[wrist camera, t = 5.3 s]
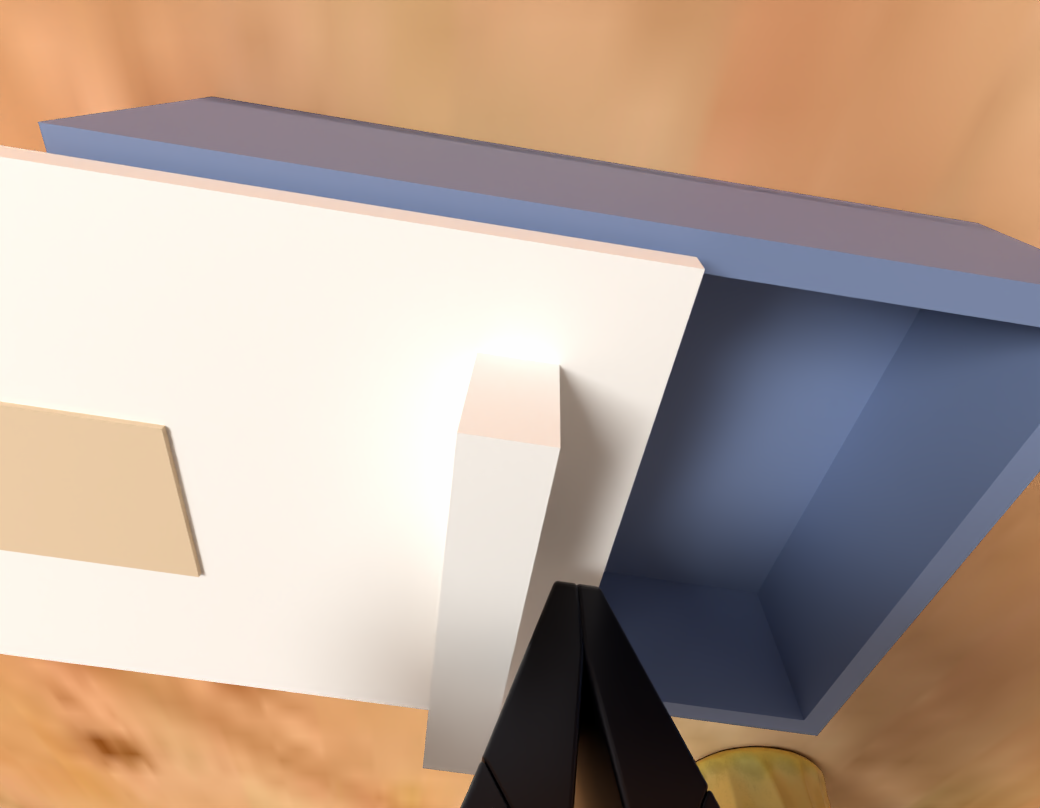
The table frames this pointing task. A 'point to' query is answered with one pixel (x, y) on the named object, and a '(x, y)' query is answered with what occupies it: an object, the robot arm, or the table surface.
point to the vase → (764, 779)
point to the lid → (310, 433)
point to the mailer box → (727, 387)
